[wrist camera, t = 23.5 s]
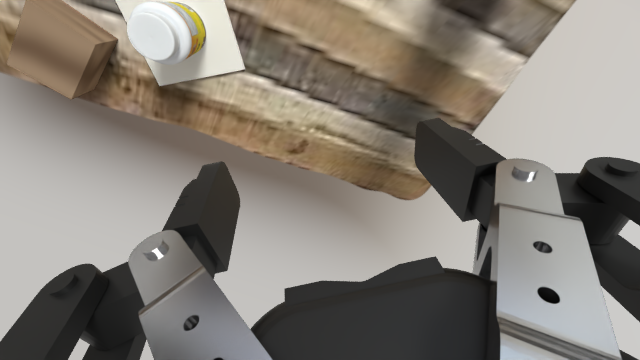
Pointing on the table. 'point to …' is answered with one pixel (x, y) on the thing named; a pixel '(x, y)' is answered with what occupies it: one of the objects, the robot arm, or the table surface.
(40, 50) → the walnut block
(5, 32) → the table surface
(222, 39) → the white square tile
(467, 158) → the robot arm
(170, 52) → the supplement bottle
